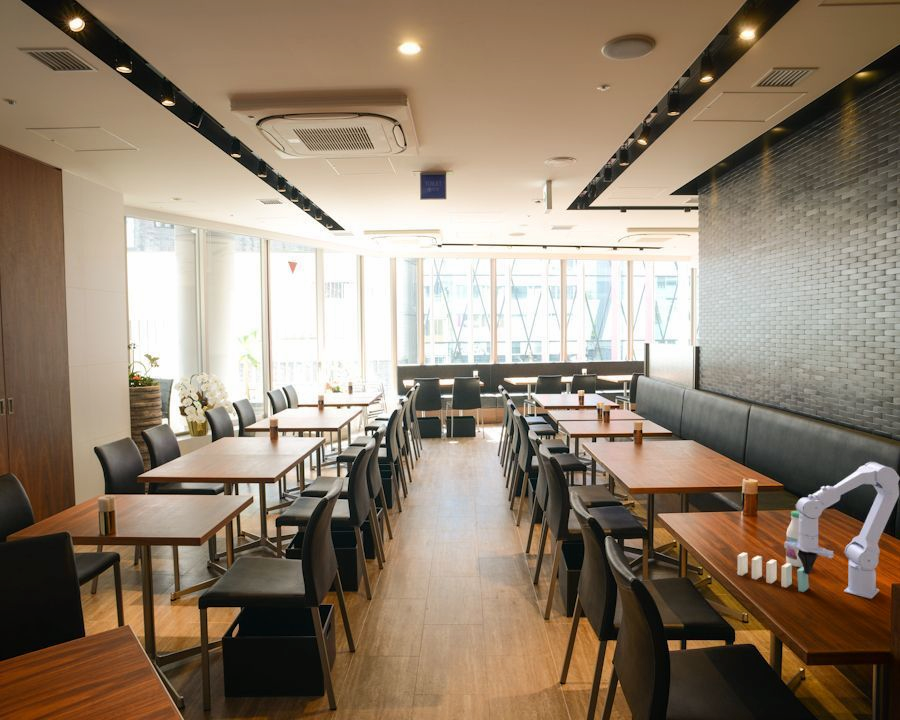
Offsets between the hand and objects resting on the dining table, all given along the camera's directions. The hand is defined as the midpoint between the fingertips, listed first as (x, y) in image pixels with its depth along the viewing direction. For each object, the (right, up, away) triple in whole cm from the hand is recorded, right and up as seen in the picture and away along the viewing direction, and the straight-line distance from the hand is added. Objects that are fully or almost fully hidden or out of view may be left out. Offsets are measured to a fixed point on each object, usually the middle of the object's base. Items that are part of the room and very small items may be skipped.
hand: (808, 573), depth 210 cm
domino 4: (-4, -6, +5) cm, 9 cm away
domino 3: (-8, -6, +9) cm, 13 cm away
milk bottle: (+10, -5, +25) cm, 27 cm away
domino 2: (-11, -6, +13) cm, 18 cm away
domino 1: (-15, -6, +16) cm, 23 cm away
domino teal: (-1, -6, +1) cm, 6 cm away
